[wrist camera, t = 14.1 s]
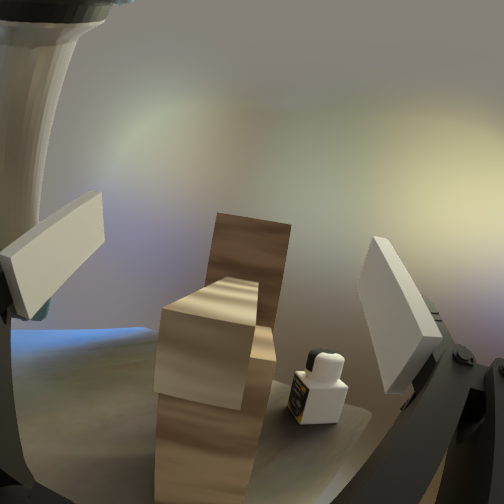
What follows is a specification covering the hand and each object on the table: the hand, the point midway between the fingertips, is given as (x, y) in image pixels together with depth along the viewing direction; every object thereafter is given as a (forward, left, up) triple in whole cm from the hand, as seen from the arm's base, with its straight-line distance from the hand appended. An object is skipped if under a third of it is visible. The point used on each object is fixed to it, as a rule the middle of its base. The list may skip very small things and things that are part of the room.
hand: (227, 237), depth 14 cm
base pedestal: (-3, +12, -25) cm, 28 cm away
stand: (-9, +34, -25) cm, 44 cm away
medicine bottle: (+6, +36, -26) cm, 45 cm away
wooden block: (-3, +11, -7) cm, 14 cm away
